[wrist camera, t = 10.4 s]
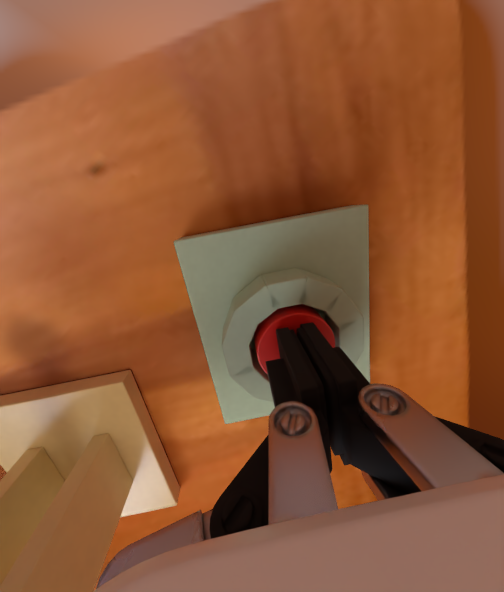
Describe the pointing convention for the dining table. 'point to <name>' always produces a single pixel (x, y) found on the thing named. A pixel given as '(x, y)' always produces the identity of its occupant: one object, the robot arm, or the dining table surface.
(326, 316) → the grey button base
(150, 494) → the switch bracket
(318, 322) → the console button
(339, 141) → the dining table surface
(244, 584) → the robot arm
